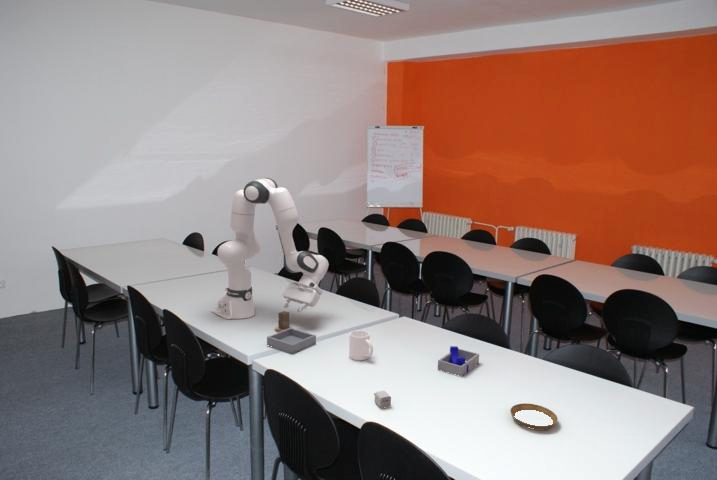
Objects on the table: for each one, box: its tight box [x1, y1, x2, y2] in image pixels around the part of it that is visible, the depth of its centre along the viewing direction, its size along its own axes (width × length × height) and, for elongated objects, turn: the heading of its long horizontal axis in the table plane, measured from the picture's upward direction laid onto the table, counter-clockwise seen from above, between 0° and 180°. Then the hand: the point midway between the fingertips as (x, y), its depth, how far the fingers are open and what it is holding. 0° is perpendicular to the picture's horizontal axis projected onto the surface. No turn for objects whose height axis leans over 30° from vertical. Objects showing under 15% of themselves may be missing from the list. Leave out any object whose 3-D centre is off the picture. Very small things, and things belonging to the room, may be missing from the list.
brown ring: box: [509, 403, 558, 430], centre depth 176 cm, size 15×15×3 cm
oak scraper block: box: [274, 310, 293, 333], centre depth 251 cm, size 6×6×9 cm
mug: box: [348, 329, 374, 362], centre depth 221 cm, size 12×8×10 cm
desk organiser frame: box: [437, 348, 480, 377], centre depth 216 cm, size 10×17×4 cm, turn 144°
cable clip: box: [449, 345, 469, 373], centre depth 216 cm, size 12×4×6 cm, turn 5°
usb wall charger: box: [373, 390, 392, 409], centre depth 185 cm, size 4×7×4 cm, turn 23°
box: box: [266, 327, 317, 355], centre depth 234 cm, size 15×15×4 cm
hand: (292, 309), depth 253 cm, fingers open, 8 cm apart
